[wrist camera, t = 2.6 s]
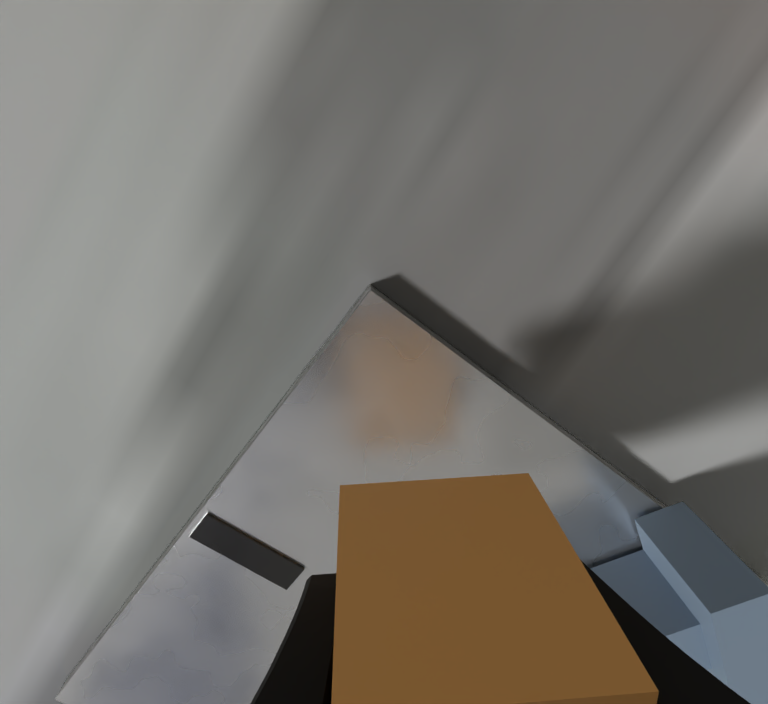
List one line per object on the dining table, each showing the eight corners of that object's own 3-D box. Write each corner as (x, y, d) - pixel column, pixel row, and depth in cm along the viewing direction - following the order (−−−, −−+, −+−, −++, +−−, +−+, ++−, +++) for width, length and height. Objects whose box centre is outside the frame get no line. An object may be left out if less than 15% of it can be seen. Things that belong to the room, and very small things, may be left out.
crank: (382, 718, 19) (390, 871, 15) (327, 625, 18) (320, 767, 13) (708, 604, 18) (814, 733, 14) (681, 496, 17) (791, 605, 12)
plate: (446, 846, 23) (450, 872, 22) (66, 678, 19) (53, 702, 18) (761, 577, 19) (780, 596, 18) (369, 284, 15) (370, 291, 14)
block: (519, 620, 12) (623, 893, 8) (350, 633, 12) (349, 921, 8) (528, 473, 11) (659, 691, 6) (339, 485, 11) (330, 718, 6)
